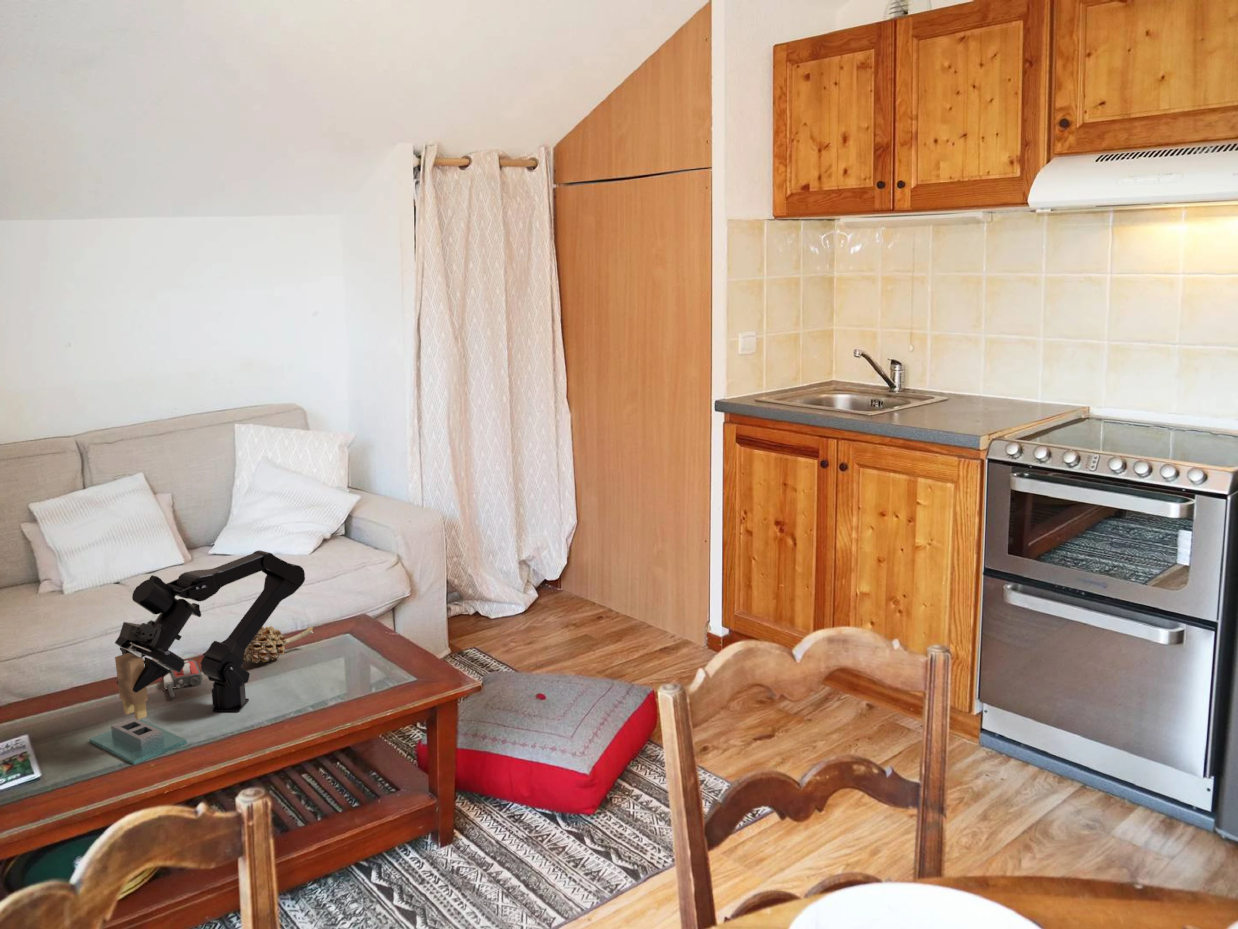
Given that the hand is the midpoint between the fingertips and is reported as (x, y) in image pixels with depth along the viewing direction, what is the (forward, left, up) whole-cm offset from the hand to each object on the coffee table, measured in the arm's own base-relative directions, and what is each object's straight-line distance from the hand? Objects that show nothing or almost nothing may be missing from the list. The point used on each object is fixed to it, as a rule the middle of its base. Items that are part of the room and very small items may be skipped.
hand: (126, 688), depth 229 cm
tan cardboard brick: (-1, -1, -7) cm, 7 cm away
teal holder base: (-1, -1, -13) cm, 13 cm away
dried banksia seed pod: (-14, -51, -13) cm, 55 cm away
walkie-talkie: (+3, -34, -14) cm, 37 cm away
